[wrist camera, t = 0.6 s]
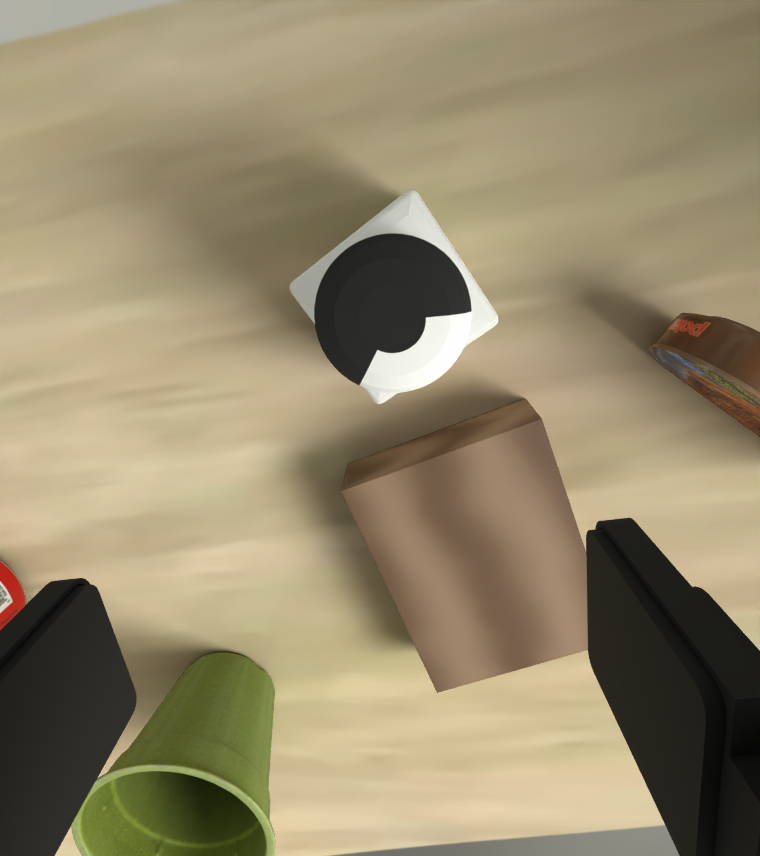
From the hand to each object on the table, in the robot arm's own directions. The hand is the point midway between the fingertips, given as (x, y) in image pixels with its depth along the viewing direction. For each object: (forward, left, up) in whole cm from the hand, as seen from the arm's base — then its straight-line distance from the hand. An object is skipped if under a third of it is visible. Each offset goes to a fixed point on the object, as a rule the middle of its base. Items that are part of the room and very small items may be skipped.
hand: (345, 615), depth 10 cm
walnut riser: (-1, +14, -24) cm, 27 cm away
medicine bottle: (-2, -3, -24) cm, 24 cm away
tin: (-19, +10, -24) cm, 32 cm away
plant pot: (+21, +20, -24) cm, 37 cm away
